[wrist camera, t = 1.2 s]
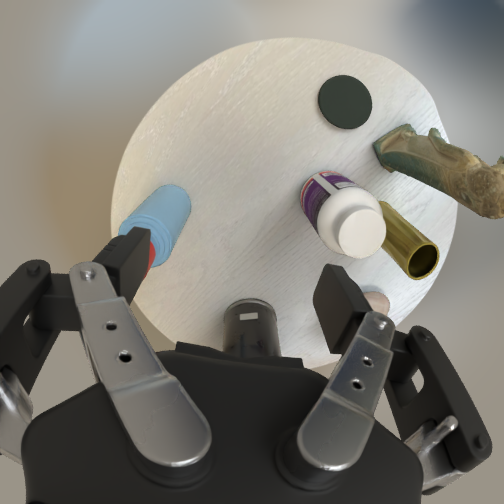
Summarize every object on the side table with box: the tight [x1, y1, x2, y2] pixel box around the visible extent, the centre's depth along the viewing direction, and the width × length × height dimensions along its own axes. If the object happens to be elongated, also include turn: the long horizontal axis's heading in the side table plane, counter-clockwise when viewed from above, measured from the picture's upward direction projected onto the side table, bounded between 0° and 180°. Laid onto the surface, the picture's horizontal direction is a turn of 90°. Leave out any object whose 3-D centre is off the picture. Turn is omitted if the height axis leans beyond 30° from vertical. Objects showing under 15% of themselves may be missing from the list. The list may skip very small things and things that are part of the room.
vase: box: [378, 201, 439, 280], centre depth 35 cm, size 6×6×14 cm
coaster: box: [318, 75, 372, 129], centre depth 33 cm, size 8×8×1 cm
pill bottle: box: [300, 171, 386, 258], centre depth 33 cm, size 8×8×14 cm
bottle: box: [118, 185, 191, 268], centre depth 32 cm, size 6×6×17 cm
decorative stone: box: [363, 292, 390, 316], centre depth 47 cm, size 13×9×5 cm
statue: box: [373, 124, 504, 219], centre depth 25 cm, size 7×8×25 cm
